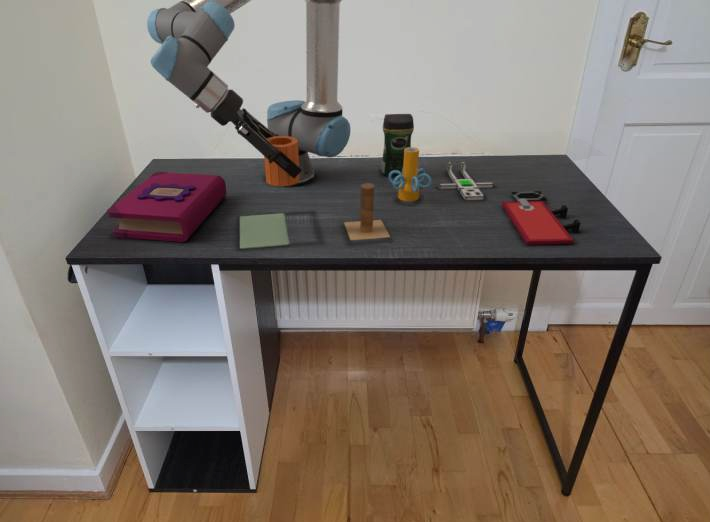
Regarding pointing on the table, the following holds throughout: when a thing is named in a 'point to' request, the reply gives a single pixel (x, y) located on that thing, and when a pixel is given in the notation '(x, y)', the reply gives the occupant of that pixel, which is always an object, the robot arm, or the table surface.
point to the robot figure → (465, 184)
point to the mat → (263, 231)
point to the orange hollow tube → (275, 172)
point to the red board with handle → (538, 219)
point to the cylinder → (409, 176)
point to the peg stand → (366, 218)
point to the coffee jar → (396, 141)
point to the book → (167, 206)
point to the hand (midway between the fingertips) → (296, 167)
